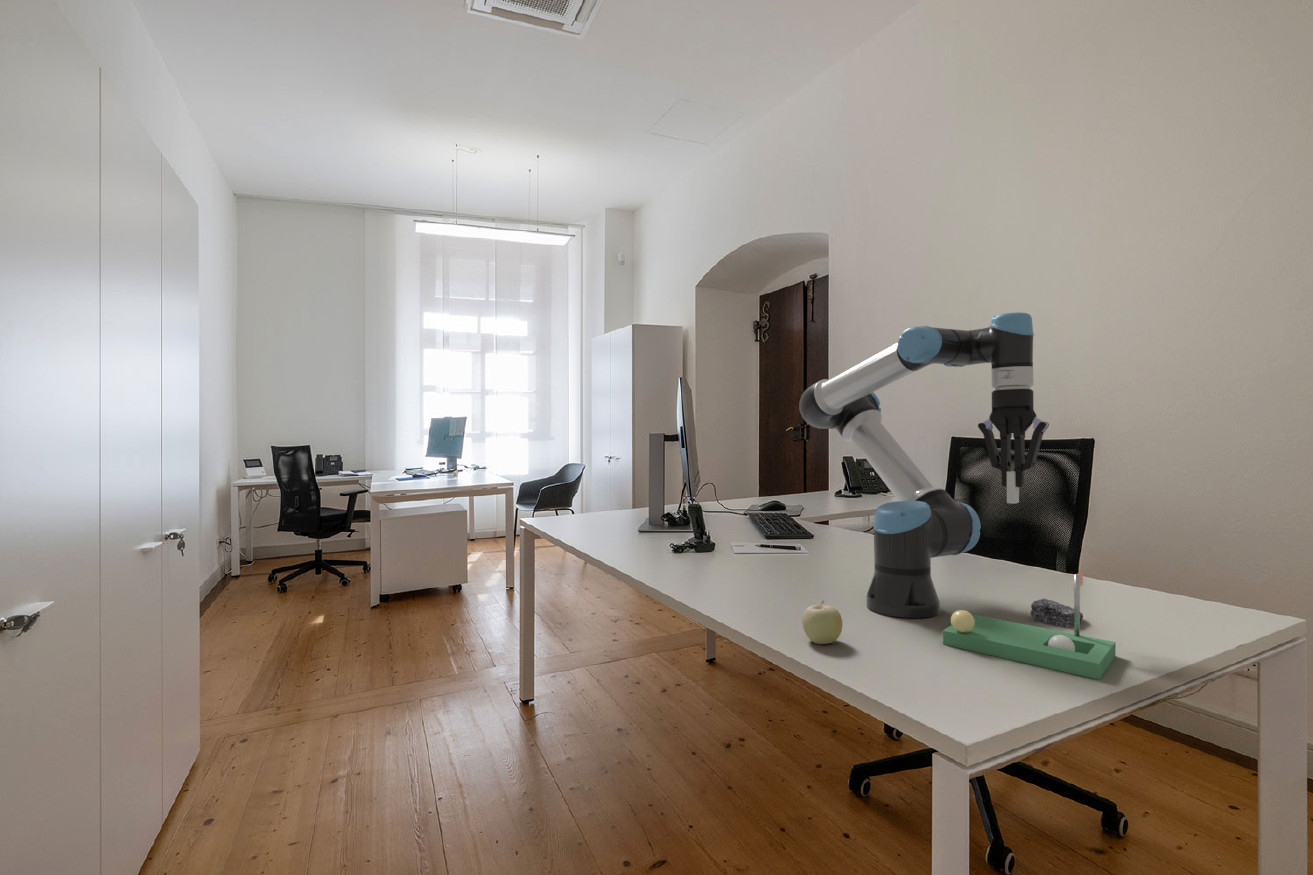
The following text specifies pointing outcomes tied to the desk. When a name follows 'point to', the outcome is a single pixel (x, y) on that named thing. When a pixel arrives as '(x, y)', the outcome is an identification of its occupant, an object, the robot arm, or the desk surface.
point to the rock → (1053, 613)
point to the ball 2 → (1061, 642)
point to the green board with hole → (1034, 646)
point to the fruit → (822, 623)
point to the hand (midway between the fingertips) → (1012, 502)
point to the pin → (1077, 602)
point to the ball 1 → (962, 621)
